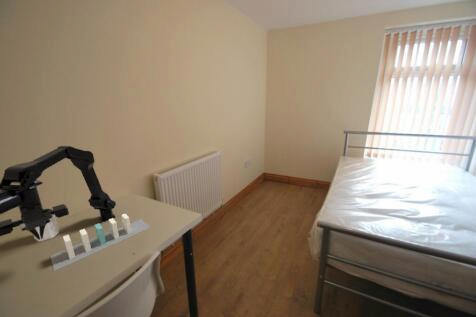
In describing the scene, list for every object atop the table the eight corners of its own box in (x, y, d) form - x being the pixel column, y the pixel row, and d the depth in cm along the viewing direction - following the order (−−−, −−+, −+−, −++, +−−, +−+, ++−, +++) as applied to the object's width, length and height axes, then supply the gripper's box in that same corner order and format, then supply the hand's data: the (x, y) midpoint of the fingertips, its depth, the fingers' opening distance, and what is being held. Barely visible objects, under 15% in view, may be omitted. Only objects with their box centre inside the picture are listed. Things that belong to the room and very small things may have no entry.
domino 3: (101, 245, 91) (97, 229, 89) (97, 240, 94) (94, 224, 92) (105, 243, 92) (102, 227, 90) (102, 238, 95) (99, 223, 93)
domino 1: (69, 259, 83) (65, 242, 81) (67, 253, 87) (62, 236, 84) (75, 256, 85) (70, 240, 82) (72, 250, 88) (68, 234, 86)
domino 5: (127, 233, 99) (125, 219, 96) (123, 229, 102) (121, 214, 100) (131, 232, 100) (129, 217, 98) (127, 227, 103) (125, 213, 101)
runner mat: (50, 256, 85) (50, 255, 85) (141, 219, 111) (141, 218, 111) (54, 271, 78) (54, 270, 78) (151, 227, 104) (151, 227, 104)
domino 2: (86, 251, 87) (82, 235, 85) (83, 246, 90) (79, 230, 88) (91, 249, 88) (87, 233, 86) (88, 244, 92) (84, 228, 89)
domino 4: (115, 239, 95) (112, 224, 93) (111, 234, 98) (108, 219, 96) (119, 237, 96) (116, 222, 94) (115, 232, 99) (112, 218, 97)
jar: (48, 241, 94) (41, 218, 90) (29, 242, 93) (21, 218, 90) (63, 229, 102) (57, 207, 99) (46, 229, 102) (39, 208, 98)
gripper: (-14, 221, 61) (3, 264, 65) (67, 199, 74) (76, 236, 79) (-12, 207, 68) (3, 247, 73) (61, 189, 81) (70, 224, 86)
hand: (40, 238), depth 77 cm, fingers closed
